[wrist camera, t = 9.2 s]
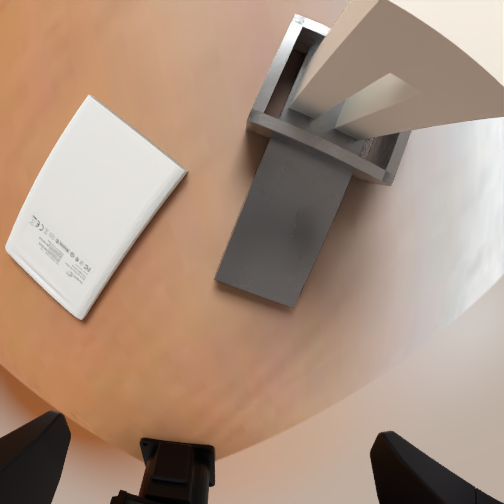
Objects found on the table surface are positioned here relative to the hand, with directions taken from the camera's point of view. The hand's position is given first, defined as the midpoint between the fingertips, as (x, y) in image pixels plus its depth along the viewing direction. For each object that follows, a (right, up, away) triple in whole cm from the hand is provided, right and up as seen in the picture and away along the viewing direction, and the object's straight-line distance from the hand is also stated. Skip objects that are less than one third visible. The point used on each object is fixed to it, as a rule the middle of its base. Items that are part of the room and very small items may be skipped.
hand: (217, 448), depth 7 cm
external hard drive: (-10, +8, +12) cm, 17 cm away
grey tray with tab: (+4, +10, +11) cm, 16 cm away
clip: (+5, +14, +9) cm, 17 cm away
